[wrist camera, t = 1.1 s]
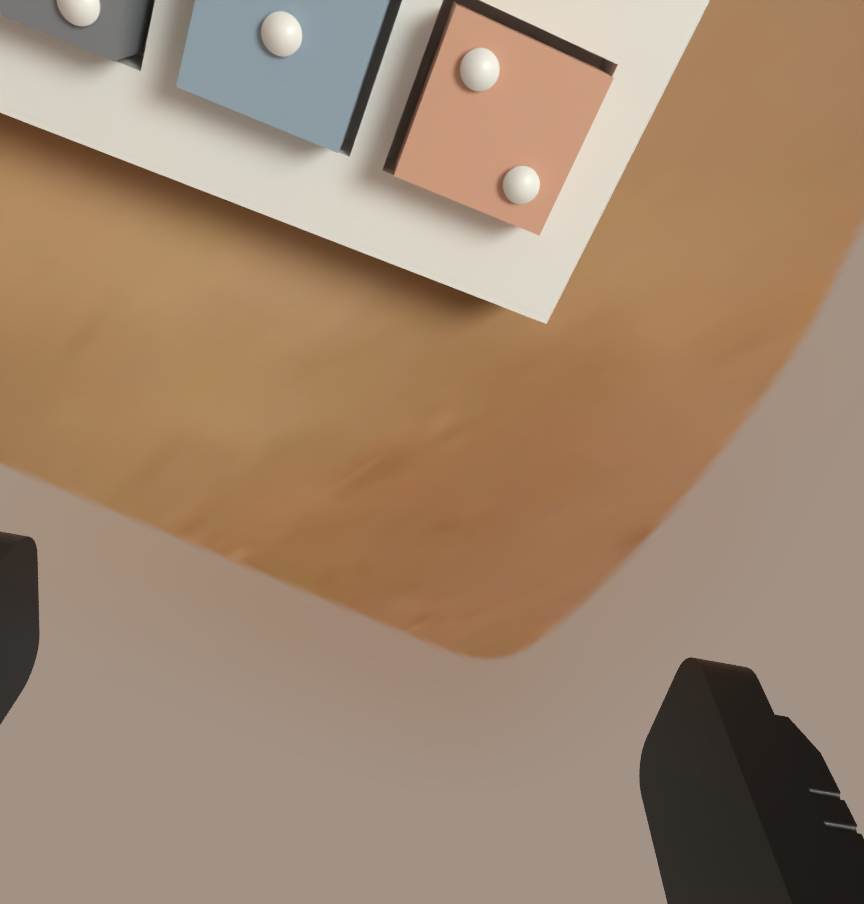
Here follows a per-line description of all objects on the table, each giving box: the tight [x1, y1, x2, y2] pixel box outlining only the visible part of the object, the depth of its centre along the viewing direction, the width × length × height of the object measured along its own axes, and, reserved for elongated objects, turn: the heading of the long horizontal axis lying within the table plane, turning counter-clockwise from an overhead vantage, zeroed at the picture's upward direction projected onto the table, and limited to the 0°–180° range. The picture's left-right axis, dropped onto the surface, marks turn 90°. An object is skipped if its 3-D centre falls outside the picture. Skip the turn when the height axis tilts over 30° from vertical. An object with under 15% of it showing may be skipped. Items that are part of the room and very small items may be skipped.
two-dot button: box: [394, 1, 614, 236], centre depth 23 cm, size 4×4×3 cm
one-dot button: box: [176, 0, 391, 153], centre depth 21 cm, size 4×4×3 cm
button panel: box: [0, 0, 710, 324], centre depth 23 cm, size 20×10×3 cm, turn 68°
